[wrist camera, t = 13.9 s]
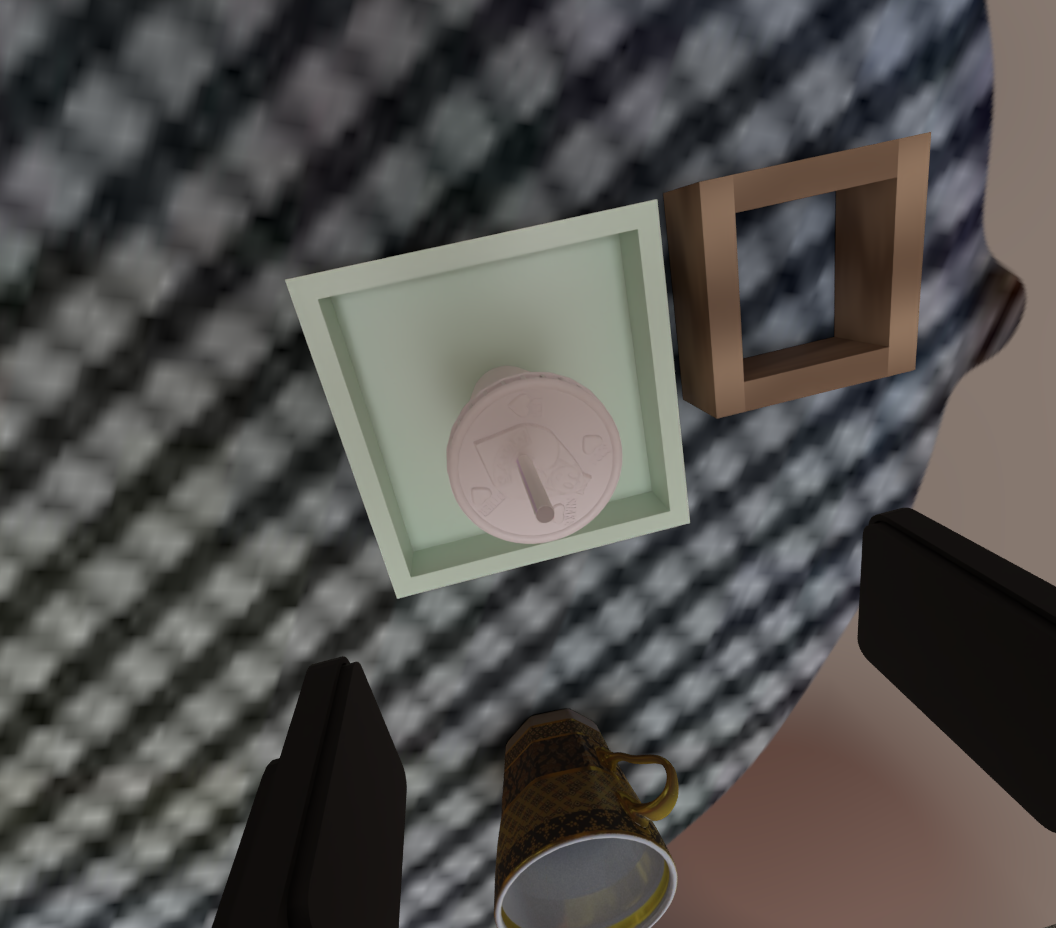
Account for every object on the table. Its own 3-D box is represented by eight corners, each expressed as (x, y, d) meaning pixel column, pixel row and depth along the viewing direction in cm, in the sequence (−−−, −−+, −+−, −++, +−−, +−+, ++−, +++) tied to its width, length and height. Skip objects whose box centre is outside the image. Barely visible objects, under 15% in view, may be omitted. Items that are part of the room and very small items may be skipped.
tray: (304, 277, 25) (284, 279, 22) (630, 207, 26) (657, 199, 23) (401, 563, 31) (397, 598, 28) (665, 496, 32) (689, 522, 29)
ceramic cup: (561, 814, 41) (597, 978, 31) (452, 767, 37) (455, 934, 28) (677, 696, 38) (752, 835, 29) (570, 633, 35) (617, 768, 26)
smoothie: (473, 317, 26) (503, 371, 13) (587, 368, 28) (713, 459, 15) (426, 434, 28) (413, 582, 15) (537, 475, 30) (610, 640, 17)
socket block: (663, 193, 26) (699, 181, 23) (864, 149, 27) (931, 132, 23) (683, 399, 30) (716, 418, 27) (858, 356, 31) (915, 369, 27)
